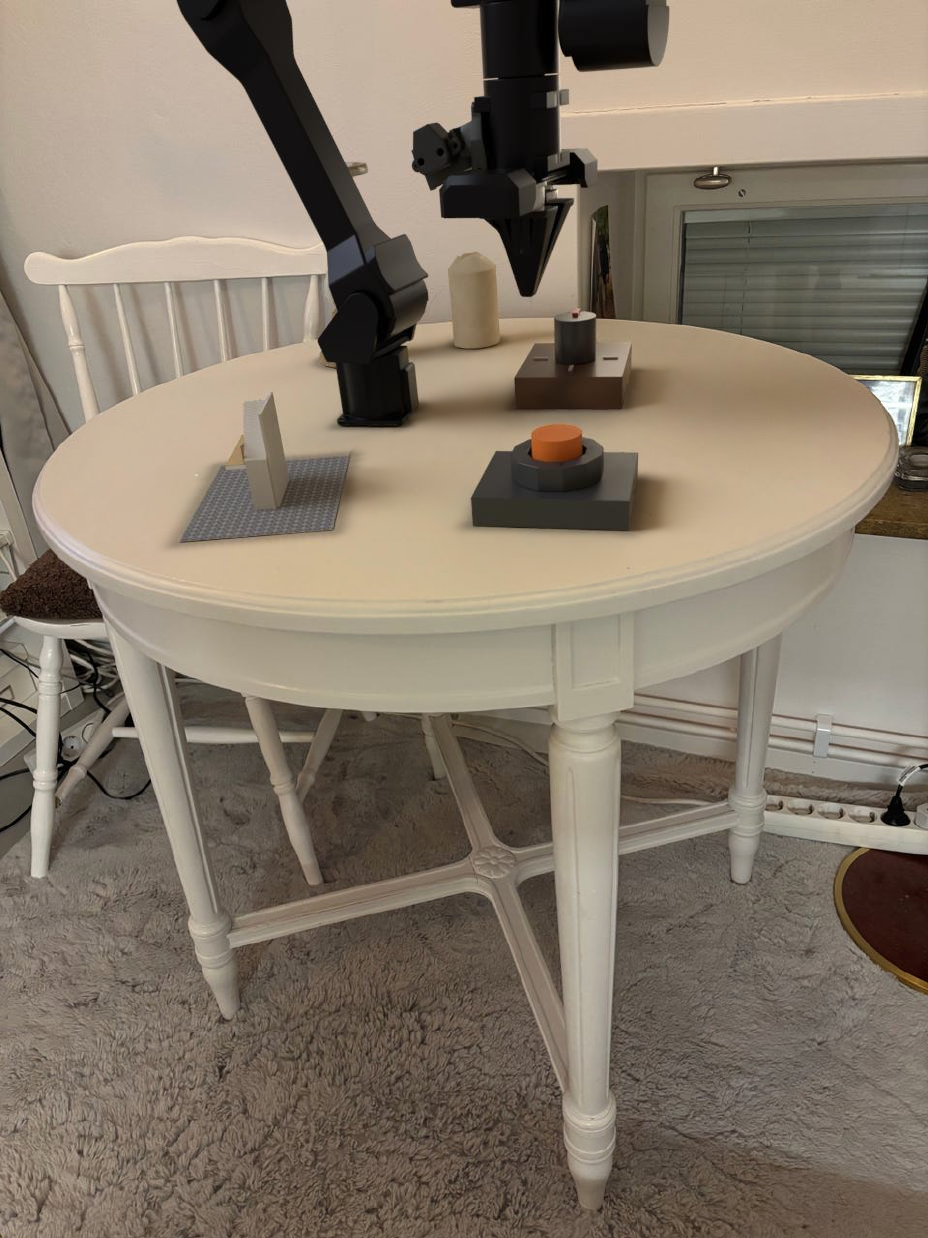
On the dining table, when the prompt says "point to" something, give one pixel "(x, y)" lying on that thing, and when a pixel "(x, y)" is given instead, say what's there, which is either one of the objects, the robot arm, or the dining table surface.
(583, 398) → the panel
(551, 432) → the spray button
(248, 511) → the architectural model
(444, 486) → the dining table surface
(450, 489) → the dining table surface
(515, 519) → the push button base
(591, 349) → the knob
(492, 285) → the candle
